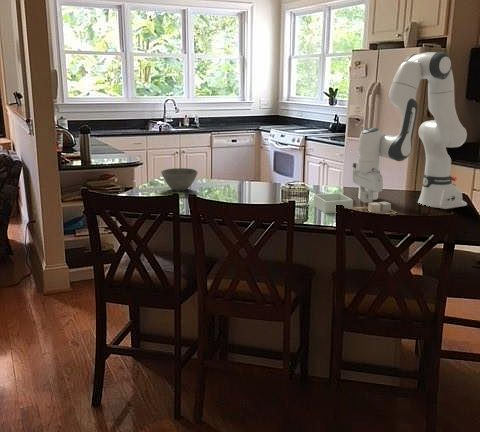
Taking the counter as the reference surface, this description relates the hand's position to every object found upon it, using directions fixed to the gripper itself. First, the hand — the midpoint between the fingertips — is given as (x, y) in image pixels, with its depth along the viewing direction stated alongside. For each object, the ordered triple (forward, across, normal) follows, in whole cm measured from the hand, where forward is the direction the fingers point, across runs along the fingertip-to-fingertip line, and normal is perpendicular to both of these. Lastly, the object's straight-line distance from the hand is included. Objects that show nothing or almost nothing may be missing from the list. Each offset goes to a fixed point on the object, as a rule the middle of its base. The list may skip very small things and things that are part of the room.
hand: (366, 197), depth 226 cm
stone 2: (+7, 0, -4) cm, 8 cm away
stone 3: (+7, 0, -9) cm, 12 cm away
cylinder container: (+9, +25, -15) cm, 30 cm away
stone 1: (+2, 0, 0) cm, 2 cm away
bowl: (+6, +66, +72) cm, 97 cm away
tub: (+8, +11, +11) cm, 17 cm away
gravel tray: (+8, 0, -4) cm, 9 cm away
